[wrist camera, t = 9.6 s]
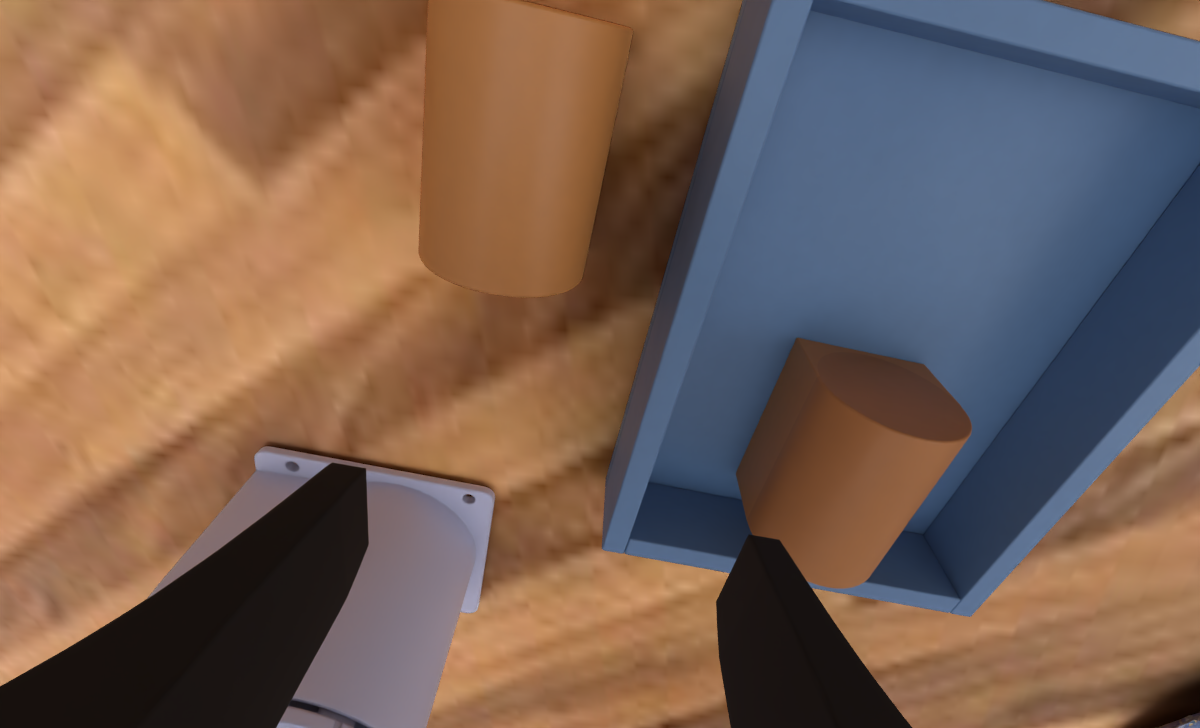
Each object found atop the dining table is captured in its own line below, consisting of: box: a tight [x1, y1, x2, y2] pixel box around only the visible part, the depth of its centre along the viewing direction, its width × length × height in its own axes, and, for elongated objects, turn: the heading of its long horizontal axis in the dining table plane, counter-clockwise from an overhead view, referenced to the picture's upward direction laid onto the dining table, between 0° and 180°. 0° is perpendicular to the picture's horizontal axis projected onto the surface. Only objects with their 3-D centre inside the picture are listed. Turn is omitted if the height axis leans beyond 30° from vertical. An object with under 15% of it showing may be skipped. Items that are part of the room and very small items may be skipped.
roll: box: [736, 338, 972, 589], centre depth 17 cm, size 4×6×5 cm
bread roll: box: [419, 0, 633, 298], centre depth 14 cm, size 4×6×5 cm
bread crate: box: [602, 0, 1200, 617], centre depth 17 cm, size 14×17×4 cm
